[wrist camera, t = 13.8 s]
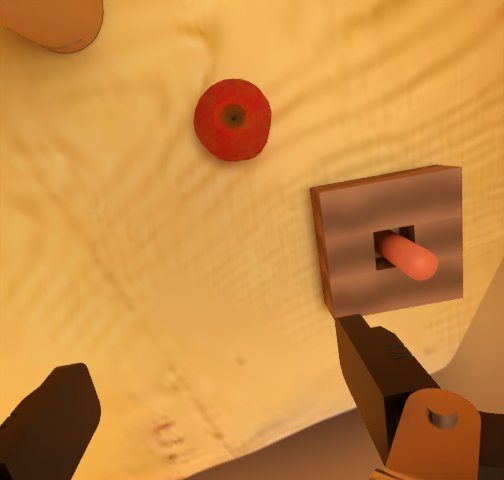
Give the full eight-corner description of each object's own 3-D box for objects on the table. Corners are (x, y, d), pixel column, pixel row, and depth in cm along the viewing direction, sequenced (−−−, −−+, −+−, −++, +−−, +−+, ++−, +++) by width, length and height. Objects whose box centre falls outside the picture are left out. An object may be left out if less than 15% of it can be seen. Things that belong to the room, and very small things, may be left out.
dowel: (368, 230, 43) (405, 253, 34) (393, 225, 43) (437, 247, 34) (370, 253, 44) (407, 283, 35) (394, 249, 44) (438, 277, 35)
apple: (273, 152, 41) (286, 154, 31) (207, 166, 41) (197, 172, 31) (261, 80, 39) (269, 56, 29) (191, 94, 39) (174, 76, 29)
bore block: (310, 187, 43) (319, 193, 38) (436, 164, 43) (461, 167, 38) (324, 302, 47) (334, 320, 42) (439, 282, 47) (463, 297, 42)
